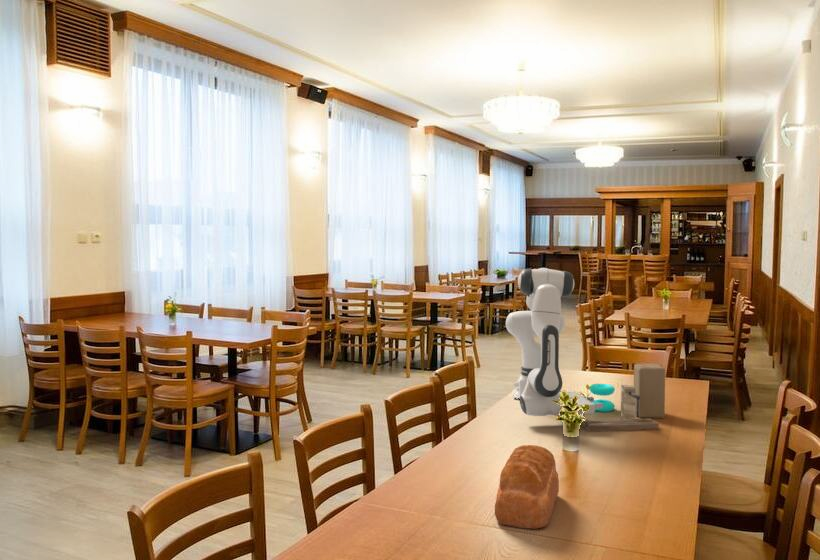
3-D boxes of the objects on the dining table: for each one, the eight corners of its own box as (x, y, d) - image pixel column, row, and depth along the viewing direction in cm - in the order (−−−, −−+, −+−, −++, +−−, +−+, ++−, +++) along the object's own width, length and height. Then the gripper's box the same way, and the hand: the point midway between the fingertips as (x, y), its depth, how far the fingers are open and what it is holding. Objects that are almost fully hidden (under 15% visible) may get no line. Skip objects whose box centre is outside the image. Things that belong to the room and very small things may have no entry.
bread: (491, 526, 167) (491, 465, 166) (511, 488, 192) (511, 435, 191) (548, 533, 163) (548, 470, 162) (560, 493, 188) (561, 439, 187)
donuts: (591, 388, 272) (587, 382, 282) (591, 412, 273) (587, 406, 283) (617, 388, 272) (612, 383, 281) (616, 412, 272) (611, 406, 282)
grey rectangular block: (658, 412, 273) (658, 363, 271) (665, 418, 263) (665, 368, 261) (632, 411, 274) (633, 363, 272) (638, 418, 264) (639, 367, 262)
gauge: (620, 420, 261) (621, 384, 260) (630, 419, 261) (631, 384, 260) (632, 428, 250) (633, 391, 249) (643, 427, 250) (643, 390, 249)
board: (583, 426, 253) (583, 420, 253) (650, 423, 256) (650, 418, 256) (590, 431, 246) (590, 425, 246) (658, 428, 249) (658, 423, 249)
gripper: (571, 401, 246) (608, 400, 247) (554, 389, 266) (588, 388, 267) (571, 418, 246) (608, 417, 247) (554, 405, 266) (588, 403, 268)
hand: (597, 402), depth 257 cm, fingers open, 8 cm apart
